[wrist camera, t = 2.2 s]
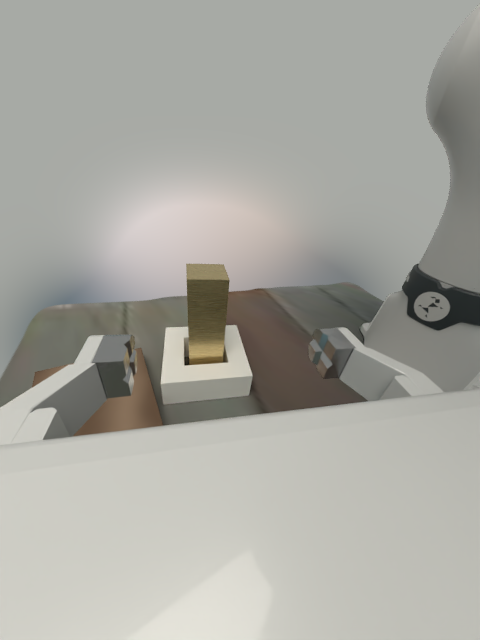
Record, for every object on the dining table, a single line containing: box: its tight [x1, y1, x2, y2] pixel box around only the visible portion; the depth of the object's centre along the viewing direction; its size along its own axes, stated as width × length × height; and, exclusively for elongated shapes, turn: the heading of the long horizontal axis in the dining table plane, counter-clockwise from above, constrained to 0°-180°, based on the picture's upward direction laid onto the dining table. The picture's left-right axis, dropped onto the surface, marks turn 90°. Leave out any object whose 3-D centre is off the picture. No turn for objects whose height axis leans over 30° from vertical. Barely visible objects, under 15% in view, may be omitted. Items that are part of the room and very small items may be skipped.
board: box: [32, 348, 163, 436], centre depth 24 cm, size 11×14×2 cm
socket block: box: [161, 325, 252, 405], centre depth 30 cm, size 10×10×4 cm
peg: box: [186, 264, 229, 365], centre depth 27 cm, size 4×4×14 cm
